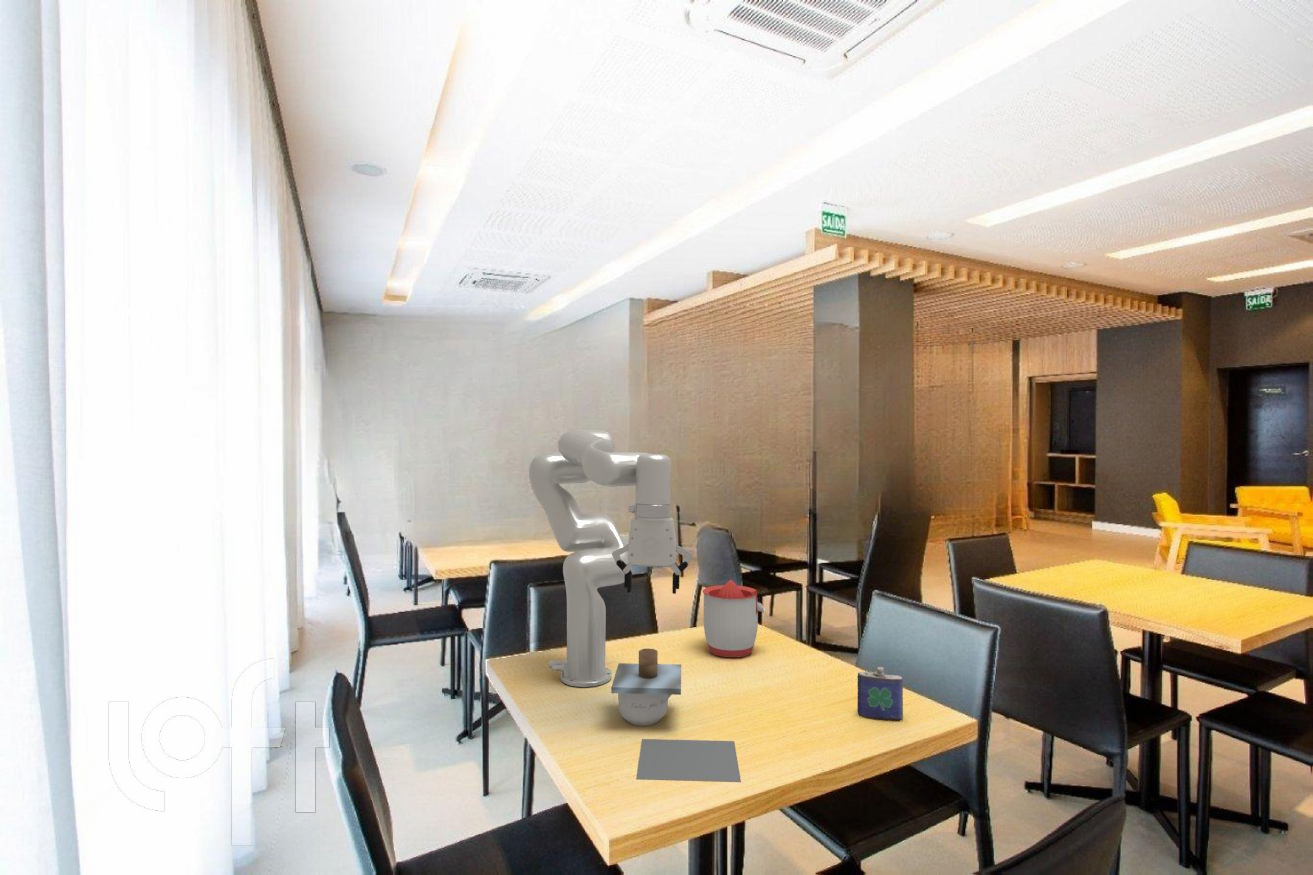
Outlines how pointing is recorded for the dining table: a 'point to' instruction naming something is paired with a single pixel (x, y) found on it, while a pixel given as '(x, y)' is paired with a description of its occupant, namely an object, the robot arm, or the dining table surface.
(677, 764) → the tray
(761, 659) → the dining table surface
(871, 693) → the flask
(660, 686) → the lid
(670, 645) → the dining table surface
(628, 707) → the teacup
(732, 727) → the dining table surface
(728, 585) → the citrus juicer
